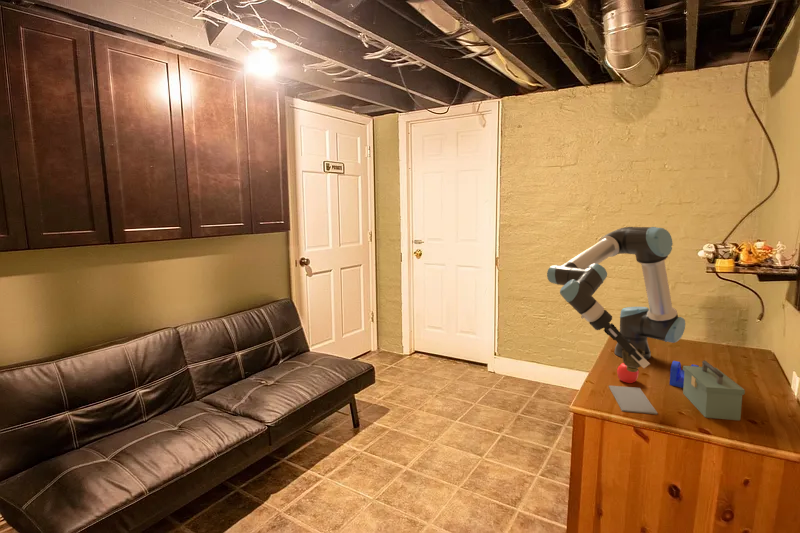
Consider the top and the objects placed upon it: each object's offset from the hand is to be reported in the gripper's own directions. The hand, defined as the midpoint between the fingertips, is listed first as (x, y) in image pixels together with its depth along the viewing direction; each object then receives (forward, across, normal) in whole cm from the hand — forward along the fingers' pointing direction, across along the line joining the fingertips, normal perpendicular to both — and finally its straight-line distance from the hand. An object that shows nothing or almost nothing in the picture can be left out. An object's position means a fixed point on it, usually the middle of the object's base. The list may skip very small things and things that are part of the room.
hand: (643, 362), depth 158 cm
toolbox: (+26, 0, +5) cm, 26 cm away
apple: (+10, -19, -10) cm, 24 cm away
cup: (0, 0, -5) cm, 5 cm away
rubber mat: (+8, 0, -12) cm, 15 cm away
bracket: (+27, -24, +6) cm, 36 cm away
